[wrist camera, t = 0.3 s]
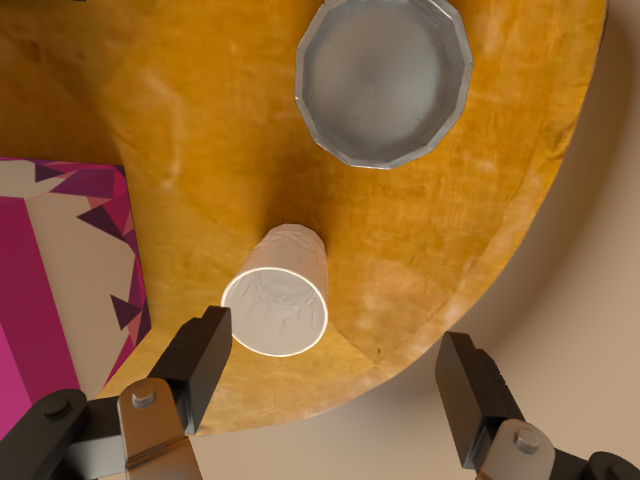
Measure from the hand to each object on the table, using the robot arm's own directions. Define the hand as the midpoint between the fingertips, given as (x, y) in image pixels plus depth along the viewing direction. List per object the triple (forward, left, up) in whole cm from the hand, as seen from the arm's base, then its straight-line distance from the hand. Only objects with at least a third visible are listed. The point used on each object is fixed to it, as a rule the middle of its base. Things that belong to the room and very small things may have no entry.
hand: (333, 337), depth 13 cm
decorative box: (+9, -29, -20) cm, 37 cm away
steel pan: (-14, +2, -20) cm, 25 cm away
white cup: (+7, -4, -20) cm, 22 cm away
